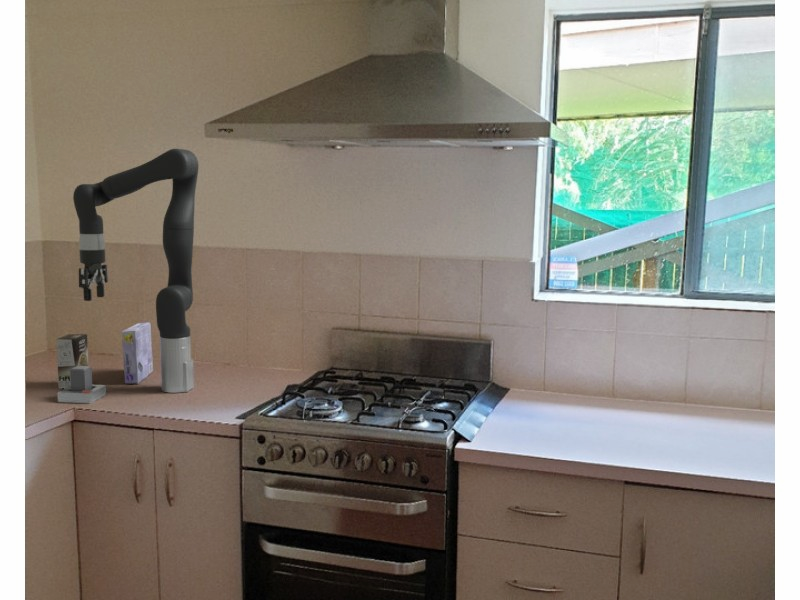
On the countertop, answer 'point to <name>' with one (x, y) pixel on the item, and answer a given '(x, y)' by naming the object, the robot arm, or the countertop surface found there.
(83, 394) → the socket
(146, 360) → the cake pan box
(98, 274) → the robot arm
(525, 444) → the countertop surface
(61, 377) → the coffee box
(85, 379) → the gray block
